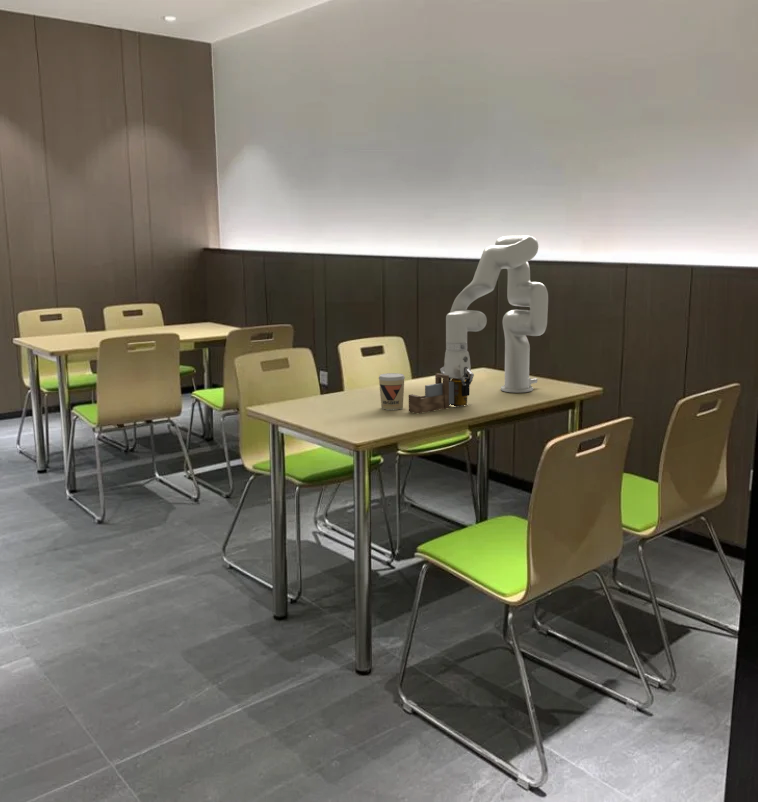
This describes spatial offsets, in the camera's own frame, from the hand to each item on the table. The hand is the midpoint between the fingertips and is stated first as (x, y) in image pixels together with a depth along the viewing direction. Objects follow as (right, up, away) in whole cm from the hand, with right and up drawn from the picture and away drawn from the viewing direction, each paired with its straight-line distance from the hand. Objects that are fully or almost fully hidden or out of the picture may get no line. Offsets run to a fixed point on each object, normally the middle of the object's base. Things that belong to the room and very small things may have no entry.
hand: (456, 393), depth 286 cm
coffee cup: (-23, -5, -2) cm, 24 cm away
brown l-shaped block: (-10, -6, -6) cm, 13 cm away
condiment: (0, -4, +1) cm, 4 cm away
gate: (-6, -5, -4) cm, 9 cm away
